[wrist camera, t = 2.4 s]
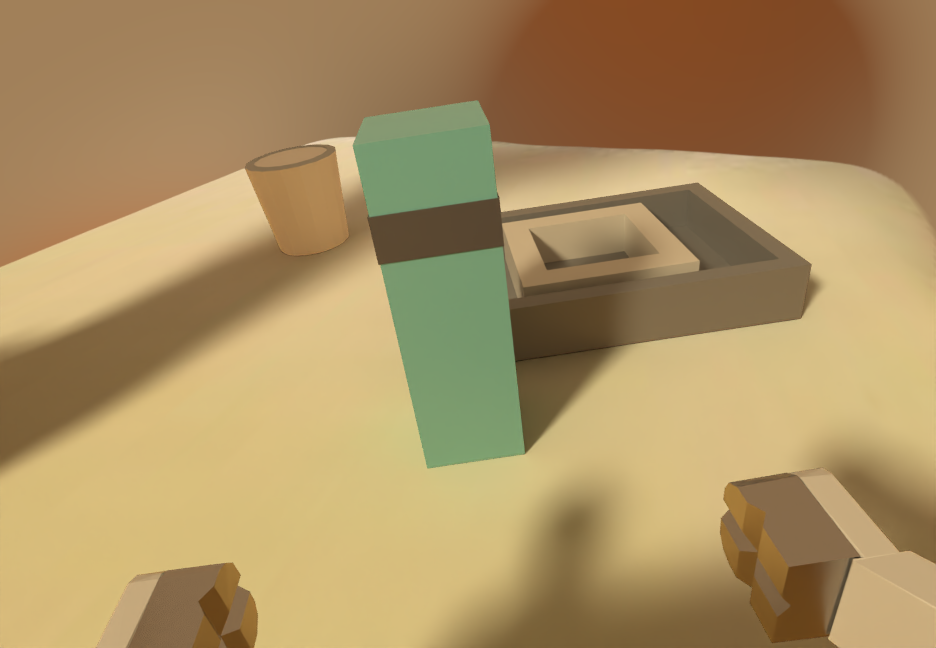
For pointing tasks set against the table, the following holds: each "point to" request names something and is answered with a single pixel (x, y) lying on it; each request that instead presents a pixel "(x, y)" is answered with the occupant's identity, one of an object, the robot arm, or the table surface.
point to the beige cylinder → (301, 198)
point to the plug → (445, 275)
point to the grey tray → (642, 271)
